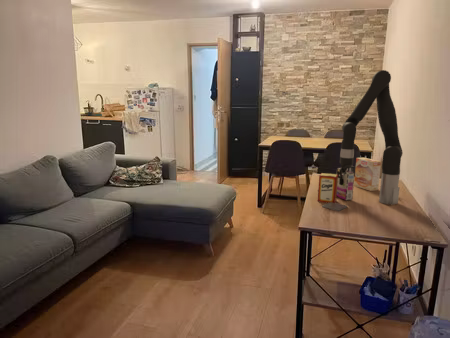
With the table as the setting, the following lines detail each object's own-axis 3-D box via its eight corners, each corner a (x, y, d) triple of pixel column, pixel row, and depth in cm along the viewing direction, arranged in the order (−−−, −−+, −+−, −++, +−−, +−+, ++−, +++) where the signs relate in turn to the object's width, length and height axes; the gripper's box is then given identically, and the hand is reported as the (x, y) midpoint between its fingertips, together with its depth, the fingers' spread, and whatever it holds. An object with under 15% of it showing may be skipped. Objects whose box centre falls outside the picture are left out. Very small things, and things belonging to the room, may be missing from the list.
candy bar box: (353, 200, 207) (355, 173, 204) (345, 200, 206) (347, 173, 202) (341, 195, 218) (343, 169, 214) (334, 195, 216) (336, 169, 213)
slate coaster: (347, 207, 195) (347, 205, 195) (339, 211, 188) (339, 209, 188) (330, 203, 202) (330, 201, 201) (322, 207, 195) (322, 205, 194)
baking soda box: (317, 201, 205) (319, 174, 202) (319, 198, 211) (321, 172, 208) (334, 203, 201) (336, 176, 198) (336, 200, 207) (338, 174, 204)
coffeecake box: (353, 185, 241) (355, 157, 237) (361, 184, 244) (363, 157, 240) (370, 191, 228) (373, 161, 224) (378, 190, 231) (381, 160, 227)
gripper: (344, 158, 199) (342, 187, 203) (359, 156, 208) (357, 183, 211) (333, 156, 205) (331, 184, 209) (348, 154, 214) (346, 181, 217)
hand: (344, 184), depth 210 cm, fingers closed on candy bar box, 6 cm apart
